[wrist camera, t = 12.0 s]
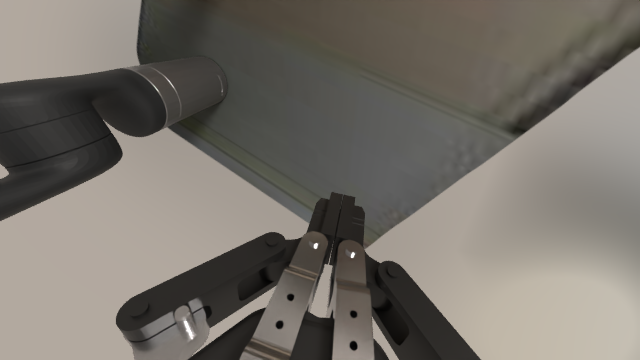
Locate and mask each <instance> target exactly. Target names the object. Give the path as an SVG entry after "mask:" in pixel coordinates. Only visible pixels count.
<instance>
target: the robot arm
mask: <svg viewBox="0 0 640 360" xmlns="http://www.w3.org/2000/svg"><path fill="white" fill-rule="evenodd" d="M226 94H227V80H226V77H225V75H224V73H223V71H222V69H221V68H220V67H219V66H218V65H217V64H216V63H215V62H214V61H213V60H211V59H209V58H207V57H203V56H197V57H190V58H183V59H177V60H171V61H164V62H158V63H151V64H145V65H139V66H133V67H127V68H120V69H114V70H109V71H104V72H98V73H91V74H85V75H77V76H68V77H57V78H46V79H35V80H25V81H17V82H10V83H2V84H0V164H1V165H2V166H4V167H5V168H6V169H7V171H8V172H9V175H8V176H6V177H4V178H2V179H0V221H2V220H4V219H6V218H8V217H10V216H13V215H15V214H17V213H19V212H21V211H23V210H26V209H28V208H30V207H32V206H34V205H37V204H39V203H41V202H43V201H45V200H47V199H50V198H51V197H54V196H56V195H58V194H60V193H63V192H65V191H67V190H69V189H71V188H74V187H76V186H78V185H80V184H82V183H84V182H86V181H88V180H90V179H92V178H94V177H96V176H98V175H100V174H102V173H104V172H105V171H107V170H109V169H110V168H112V167H113V166H114V165H116V164H117V163H118V161H120V159H121V158H122V154H123V153H122V150H121V147H120V145H119V143H118V142H117V140H116V138H115V137H114V135H113V134H112V133H111V131H110V129H109V128H108V127H107V125H106V124H105V122H104V121H106V122H107V123H108V124H110V125H111V126H112V127H114V128H115V129H117V130H118V131H121V132H122V133H124V134H127V135H130V136H135V137H144V136H148V135H151V134H153V133H155V132H158V131H160V130H161V129H164V128H166V127H168V126H170V125H172V124H174V123H176V122H178V121H180V120H183V119H185V118H187V117H189V116H191V115H193V114H195V113H198V112H200V111H202V110H204V109H206V108H208V107H210V106H213V105H215V104H217V103H219V102H221V101H222V100H223V99H224V98H225V96H226ZM103 120H104V121H103ZM342 196H343V194H338V193H334V192H332V193H331V196H330V200H328V199H324V198H321V199H320V200H319V201H318V202H317V203H316V206H315V209H314V212H313V215H312V218H311V221H310V224H309V227H308V230H307V233H306V234H304V236H303V237H301V238H299V239H295V240H285V238H284V236H282V235H281V234H279V233H276V232H269V233H266V234H264V235H262V236H260V237H258V238H256V239H254V240H252V241H249V242H247V243H245V244H243V245H241V246H239V247H237V248H235V249H232V250H230V251H228V252H226V253H224V254H222V255H220V256H218V257H216V258H214V259H211V260H209V261H207V262H205V263H203V264H201V265H199V266H197V267H195V268H193V269H191V270H189V271H186V272H184V273H182V274H180V275H178V276H176V277H174V278H172V279H170V280H167V281H165V282H163V283H161V284H159V285H157V286H155V287H153V288H151V289H149V290H146V291H144V292H142V293H141V294H138V295H136V296H134V297H132V298H131V299H129V300H128V301H127V302H126V303H125V304H124V305H123V306H122V307H121V308H120V310H119V312H118V314H117V316H116V324H117V326H118V328H119V329H120V330H121V332H122V333H123V335H124V338H125V339H126V340H127V342H128V343H129V344H130V346H131V347H132V349H133V354H134V359H135V360H389V359H388V357H387V355H386V353H385V352H384V350H383V349H382V348H381V346H380V345H379V344H378V343H377V342H376V341H375V340H374V339H373V328H372V317H373V319H374V320H375V322H376V323H377V325H378V327H379V328H380V330H381V331H382V333H383V335H384V336H385V338H386V339H387V341H388V343H389V344H390V346H391V347H392V349H393V351H394V352H395V354H396V355H397V357H398V359H399V360H481V359H480V358H479V357H478V356H477V355H476V353H475V352H474V351H473V350H472V349H471V348H470V346H469V345H468V344H467V343H466V342H465V341H464V339H463V338H462V337H461V336H460V335H459V334H458V332H457V331H456V330H455V329H454V328H453V326H452V325H451V324H450V323H449V322H448V321H447V319H446V318H445V317H444V316H443V315H442V313H441V312H439V310H438V309H437V308H436V306H435V305H434V304H433V303H432V302H431V301H430V299H429V298H428V297H427V296H426V295H425V294H424V292H423V291H422V290H421V289H420V288H419V286H418V285H417V284H416V283H415V282H414V281H413V279H412V278H411V277H410V276H409V275H408V274H407V273H406V271H405V270H404V269H403V268H402V267H401V266H400V265H399V264H397V263H395V262H392V261H384V262H382V263H379V262H377V261H375V260H374V259H372V258H371V257H369V256H368V255H367V254H366V252H365V250H364V247H363V238H364V220H365V213H364V211H363V208H362V207H359V206H355V205H354V203H355V197H352V196H347V195H344V196H343V200H342ZM341 201H342V204H341ZM340 207H341V209H340ZM339 212H340V213H339ZM333 241H334V242H333ZM332 245H333V248H332ZM331 250H332V253H331ZM330 254H331V258H330ZM329 258H330V263H329V265H332V266H333V268H332V273H331V277H330V284H329V295H328V306H327V314H326V318H319V317H316V316H315V315H313V314H311V313H310V309H311V306H312V303H313V300H314V296H315V293H316V290H317V287H318V283H319V280H320V277H321V274H322V273H323V269H324V265H325V264H328V262H329ZM276 285H277V286H276ZM275 286H276V288H275V290H274V293H273V295H272V297H271V299H270V301H269V303H268V305H267V307H266V308H263V309H260V310H257V311H255V312H253V313H251V314H250V315H248V316H247V317H246V318H244V319H243V320H241V321H240V322H239V323H237V324H236V325H235V326H233V327H232V328H230V329H229V330H227V331H226V332H225V333H223V334H222V335H221V336H220V337H218V338H216V339H215V340H214V341H212V342H211V343H210V344H208V345H207V346H205V347H204V348H203V349H201V350H200V351H199V352H197V353H196V354H194V355H193V353H194V352H196V351H197V350H198V349H199V348H200V347H201V346H202V345H203V344H204V343H205V342H206V340H207V338H208V335H209V330H210V329H209V328H211V327H212V326H214V325H216V324H217V323H219V322H220V321H222V320H223V319H225V318H227V317H228V316H230V315H231V314H233V313H234V312H236V311H237V310H239V309H241V308H242V307H243V306H245V305H247V304H248V303H249V302H251V301H253V300H254V299H256V298H257V297H259V296H261V295H262V294H264V293H265V292H267V291H268V290H270V289H272V288H273V287H275ZM192 355H193V356H192ZM191 356H192V357H191Z"/></svg>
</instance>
